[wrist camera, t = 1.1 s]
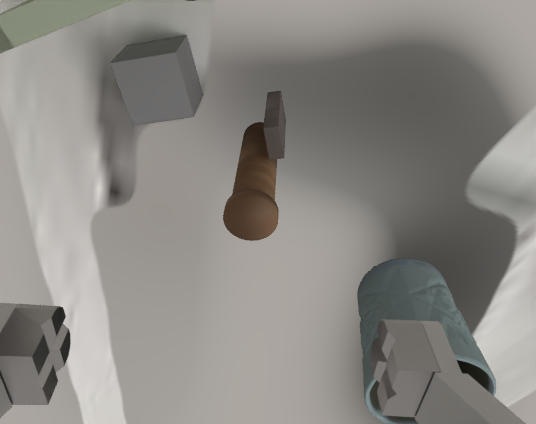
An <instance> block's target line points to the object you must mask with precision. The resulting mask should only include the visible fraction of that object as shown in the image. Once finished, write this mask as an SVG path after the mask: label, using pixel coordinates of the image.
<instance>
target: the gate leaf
mask: <svg viewBox="0 0 536 424" xmlns="http://www.w3.org/2000/svg"><path fill="white" fill-rule="evenodd" d="M127 1H129V0H27V1H25V2H23V3H21V4H19V5H17V6H15V7H13V8H11V9H9V10H7V11H5V12H3V13H1V14H0V53H2V52H4V51H7V50H9V49H12V48H14V47H17V46H19V45H21V44H24V43H26V42H29V41H31V40H34V39H36V38H39V37H41V36H43V35H46V34H48V33H51V32H53V31H56V30H58V29H61V28H63V27H66V26H68V25H70V24H73V23H75V22H78V21H80V20H83V19H85V18H88V17H90V16H92V15H95V14H97V13H100V12H102V11H105V10H107V9H110V8H112V7H115V6H117V5H119V4H122V3H124V2H127Z"/></svg>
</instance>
